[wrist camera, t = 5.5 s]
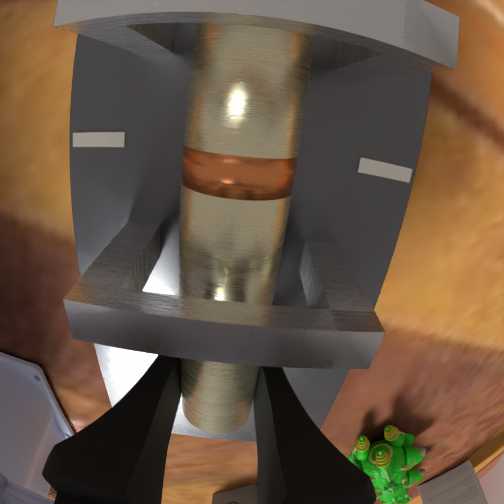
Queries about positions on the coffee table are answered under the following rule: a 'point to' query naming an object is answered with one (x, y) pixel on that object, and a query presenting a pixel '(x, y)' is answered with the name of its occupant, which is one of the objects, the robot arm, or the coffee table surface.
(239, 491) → the dice cube
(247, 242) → the brass tube
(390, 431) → the green bumpy long piece
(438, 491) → the supplement box
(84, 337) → the collar base
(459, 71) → the coffee table surface
